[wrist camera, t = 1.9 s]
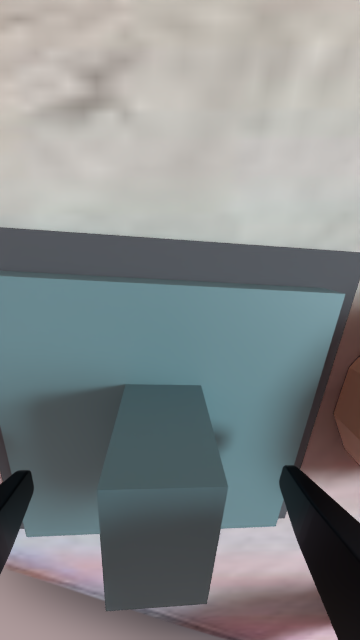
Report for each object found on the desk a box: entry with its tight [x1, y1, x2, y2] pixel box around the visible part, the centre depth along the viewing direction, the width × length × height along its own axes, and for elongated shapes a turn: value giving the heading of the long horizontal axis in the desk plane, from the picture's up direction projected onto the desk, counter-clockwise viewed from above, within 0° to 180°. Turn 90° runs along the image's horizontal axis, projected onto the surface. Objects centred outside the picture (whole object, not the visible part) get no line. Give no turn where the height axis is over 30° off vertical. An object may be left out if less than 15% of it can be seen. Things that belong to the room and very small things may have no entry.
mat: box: [0, 228, 360, 529], centre depth 11 cm, size 16×16×1 cm
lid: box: [0, 271, 345, 611], centre depth 8 cm, size 13×13×5 cm
